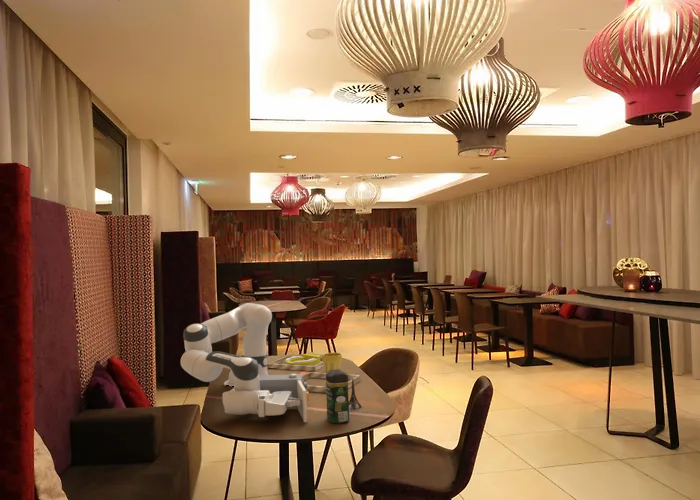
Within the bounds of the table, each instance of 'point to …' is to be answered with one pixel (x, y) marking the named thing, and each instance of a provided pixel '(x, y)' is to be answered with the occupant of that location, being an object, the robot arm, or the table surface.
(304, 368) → the oak tray frame under the ashtray
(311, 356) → the ashtray
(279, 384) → the camera body
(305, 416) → the side door
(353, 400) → the eiffel tower figurine
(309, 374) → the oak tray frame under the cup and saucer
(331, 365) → the plant pot
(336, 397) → the coffee jar
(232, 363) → the robot arm
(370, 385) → the table surface
